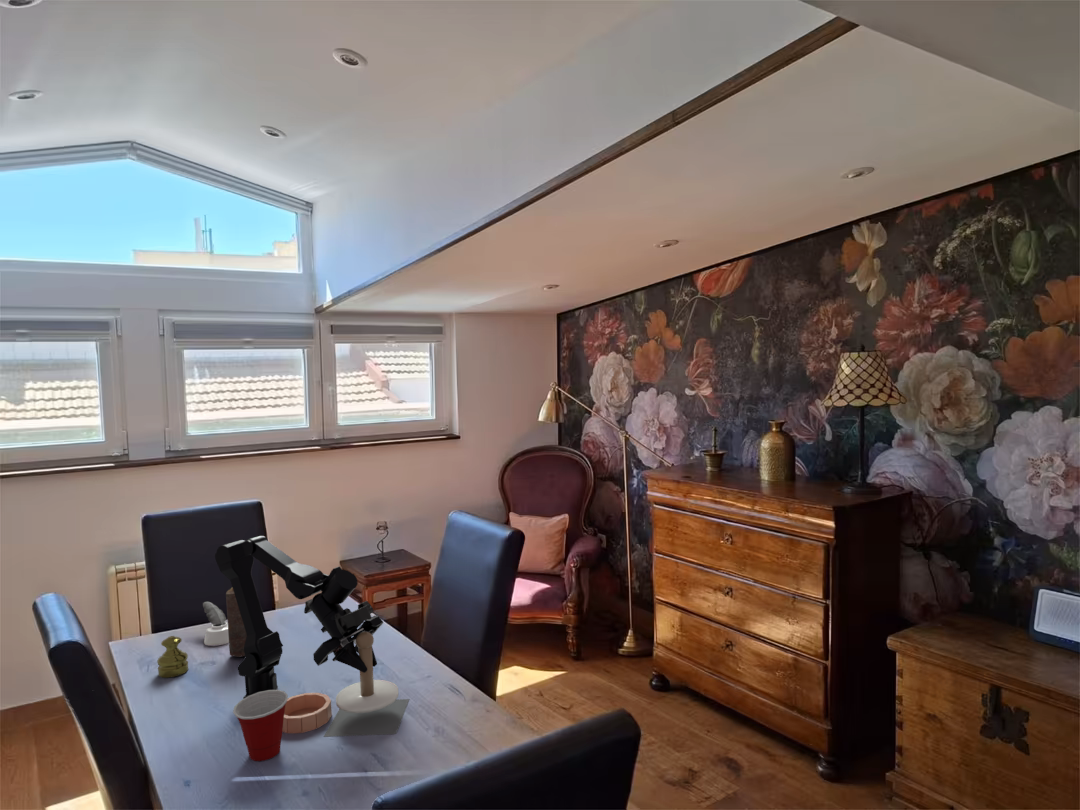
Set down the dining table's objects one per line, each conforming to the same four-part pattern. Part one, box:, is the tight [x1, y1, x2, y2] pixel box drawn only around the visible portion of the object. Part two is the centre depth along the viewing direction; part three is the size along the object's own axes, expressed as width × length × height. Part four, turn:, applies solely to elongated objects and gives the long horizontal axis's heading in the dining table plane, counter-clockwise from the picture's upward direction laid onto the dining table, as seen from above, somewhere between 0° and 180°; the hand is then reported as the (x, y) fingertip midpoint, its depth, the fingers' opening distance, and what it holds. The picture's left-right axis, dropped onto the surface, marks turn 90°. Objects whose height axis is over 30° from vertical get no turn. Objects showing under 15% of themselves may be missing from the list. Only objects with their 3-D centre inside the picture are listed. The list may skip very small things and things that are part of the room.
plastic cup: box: [232, 689, 289, 762], centre depth 146 cm, size 11×11×12 cm
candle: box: [225, 586, 247, 658], centre depth 200 cm, size 8×7×20 cm
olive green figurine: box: [156, 635, 189, 679], centre depth 190 cm, size 7×7×10 cm
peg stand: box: [335, 632, 399, 713], centre depth 160 cm, size 14×14×16 cm
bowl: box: [282, 692, 333, 734], centre depth 161 cm, size 12×12×4 cm
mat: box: [323, 698, 410, 738], centre depth 161 cm, size 16×16×1 cm
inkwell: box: [202, 601, 229, 647], centre depth 216 cm, size 9×18×10 cm, turn 48°
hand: (370, 668), depth 159 cm, fingers closed on peg stand, 3 cm apart
